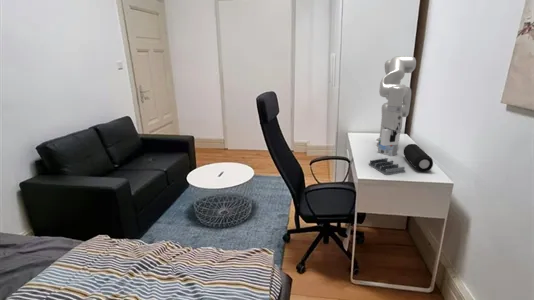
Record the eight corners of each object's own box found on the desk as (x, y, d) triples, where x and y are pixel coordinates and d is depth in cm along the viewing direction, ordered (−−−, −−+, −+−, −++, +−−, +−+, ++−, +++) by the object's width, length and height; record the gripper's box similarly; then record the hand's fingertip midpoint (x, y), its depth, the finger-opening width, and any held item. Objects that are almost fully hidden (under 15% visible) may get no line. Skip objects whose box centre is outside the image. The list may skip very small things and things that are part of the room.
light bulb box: (377, 152, 199) (379, 137, 195) (382, 150, 203) (384, 135, 199) (392, 156, 191) (394, 140, 187) (397, 154, 195) (399, 138, 191)
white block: (394, 142, 170) (397, 127, 167) (398, 144, 167) (400, 128, 164) (380, 144, 167) (382, 129, 164) (383, 145, 164) (385, 130, 161)
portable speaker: (432, 173, 165) (436, 157, 161) (414, 172, 166) (417, 156, 163) (417, 157, 189) (419, 142, 185) (401, 157, 190) (403, 142, 187)
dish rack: (368, 164, 177) (369, 160, 176) (386, 162, 181) (387, 157, 180) (385, 175, 163) (386, 170, 162) (405, 172, 167) (405, 167, 166)
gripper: (410, 111, 154) (405, 144, 160) (389, 105, 169) (386, 136, 175) (398, 112, 152) (394, 145, 158) (378, 106, 167) (375, 137, 173)
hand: (390, 140), depth 166 cm, fingers closed on white block, 3 cm apart
